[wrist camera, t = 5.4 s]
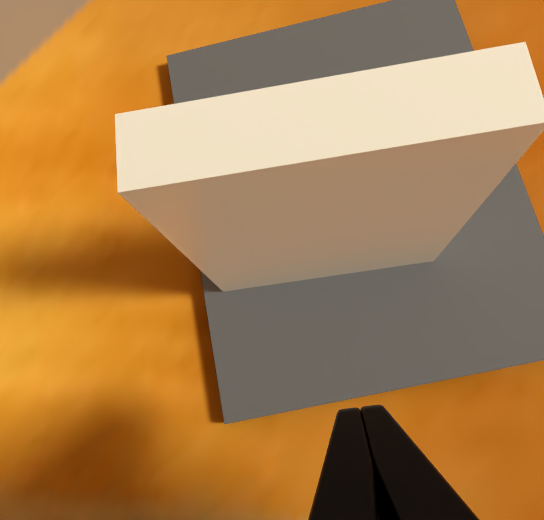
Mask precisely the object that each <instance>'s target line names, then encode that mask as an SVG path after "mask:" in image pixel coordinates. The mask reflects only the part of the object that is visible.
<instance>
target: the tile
mask: <svg viewBox="0 0 544 520" xmlns="http://www.w3.org/2000/svg"><path fill="white" fill-rule="evenodd" d="M115 130H116V157H117V184H118V193H119V194H120V195H121V196H122V197H123V198H124V199H125V200H126V201H127V202H128V203H129V204H131V205H132V206H133V207H134V208H135V209H136V210H137V211H138V212H139V213H140V214H141V215H142V216H143V217H144V218H145V219H146V220H148V221H149V222H150V223H151V224H152V225H153V226H154V227H155V228H156V229H157V230H158V231H159V232H160V233H161V234H162V235H163V236H164V237H166V238H167V239H168V240H169V241H170V242H171V243H172V244H173V245H174V246H175V247H176V248H177V249H178V250H179V251H180V252H181V253H183V254H184V255H185V256H186V257H187V258H188V259H189V260H190V261H191V262H192V263H193V264H194V265H195V266H196V267H197V268H198V269H200V270H201V271H202V272H203V273H204V274H205V275H206V276H207V277H208V278H209V279H210V280H211V281H212V282H213V283H214V284H215V285H217V286H218V287H219V288H220V289H221V290H222V291H223V292H225V291H232V290H239V289H246V288H253V287H259V286H266V285H273V284H280V283H287V282H294V281H301V280H307V279H314V278H321V277H328V276H335V275H342V274H349V273H355V272H362V271H369V270H376V269H383V268H390V267H397V266H403V265H410V264H417V263H424V262H431V261H434V260H435V259H436V258H437V257H438V256H439V254H440V253H441V252H442V251H443V250H444V248H445V247H446V246H447V245H448V244H449V242H450V241H451V240H452V239H453V238H454V236H455V235H456V234H457V233H458V232H459V231H460V229H461V228H462V227H463V226H464V225H465V223H466V222H467V221H468V220H469V219H470V217H471V216H472V215H473V214H474V213H475V211H476V210H477V209H478V208H479V207H480V205H481V204H482V203H483V202H484V201H485V200H486V198H487V197H488V196H489V195H490V194H491V192H492V191H493V190H494V189H495V188H496V186H497V185H498V184H499V183H500V182H501V180H502V179H503V178H504V177H505V176H506V175H507V173H508V172H509V171H510V170H511V169H512V167H513V166H514V165H515V164H516V163H517V161H518V160H519V159H520V158H521V157H522V155H523V154H524V153H525V152H526V151H527V149H528V148H529V147H530V146H531V145H532V144H533V142H534V141H535V140H536V139H537V138H538V136H539V135H540V134H541V133H542V132H543V130H544V98H543V95H542V92H541V89H540V86H539V83H538V80H537V77H536V73H535V70H534V67H533V64H532V61H531V58H530V55H529V52H528V49H527V46H526V43H525V42H522V43H516V44H510V45H505V46H499V47H493V48H488V49H482V50H477V51H471V52H465V53H460V54H454V55H448V56H443V57H437V58H431V59H426V60H420V61H414V62H409V63H403V64H397V65H392V66H386V67H380V68H375V69H369V70H363V71H358V72H352V73H346V74H341V75H335V76H329V77H324V78H318V79H312V80H307V81H301V82H295V83H290V84H284V85H278V86H273V87H267V88H261V89H256V90H250V91H244V92H239V93H233V94H228V95H222V96H216V97H211V98H205V99H199V100H194V101H188V102H182V103H177V104H171V105H165V106H160V107H154V108H148V109H143V110H137V111H131V112H126V113H120V114H115Z"/></svg>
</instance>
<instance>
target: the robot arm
mask: <svg viewBox="0 0 544 520" xmlns="http://www.w3.org/2000/svg"><path fill="white" fill-rule="evenodd" d="M308 520H479V519H478V518H477V516H476V515H475V514H474V513H473V512H472V510H471V509H470V508H469V507H468V506H467V505H466V503H465V502H464V501H463V500H462V499H461V497H460V496H459V495H458V494H457V493H456V492H455V490H454V489H453V488H452V487H451V486H450V485H449V483H448V482H447V481H446V480H445V479H444V477H443V476H442V475H441V474H440V473H439V472H438V470H437V469H436V468H435V467H434V466H433V464H432V463H431V462H430V461H429V460H428V459H427V457H426V456H425V455H424V454H423V453H422V451H421V450H420V449H419V448H418V447H417V446H416V444H415V443H414V442H413V441H412V440H411V438H410V437H409V436H408V435H407V434H406V433H405V431H404V430H403V429H402V428H401V427H400V425H399V424H398V423H397V422H396V421H395V420H394V418H393V417H392V416H391V415H390V414H389V412H388V411H387V410H386V409H385V408H384V407H383V406H381V405H372V406H364V407H362V408H361V410H360V409H359V408H348V409H341V410H339V411H338V413H337V416H336V419H335V423H334V427H333V430H332V434H331V438H330V441H329V445H328V449H327V453H326V456H325V460H324V464H323V467H322V471H321V475H320V478H319V482H318V486H317V489H316V493H315V497H314V500H313V504H312V508H311V512H310V515H309V519H308Z"/></svg>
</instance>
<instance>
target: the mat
mask: <svg viewBox="0 0 544 520" xmlns="http://www.w3.org/2000/svg"><path fill="white" fill-rule="evenodd" d="M471 51H474V50H473V48H472V45H471V43H470V40H469V37H468V35H467V32H466V29H465V27H464V24H463V21H462V19H461V16H460V13H459V11H458V8H457V5H456V3H455V0H392V1H388V2H383V3H379V4H375V5H371V6H367V7H363V8H359V9H355V10H351V11H347V12H343V13H339V14H335V15H331V16H327V17H322V18H318V19H314V20H310V21H306V22H302V23H298V24H294V25H290V26H286V27H282V28H278V29H274V30H270V31H266V32H261V33H257V34H253V35H249V36H245V37H241V38H237V39H233V40H229V41H225V42H221V43H217V44H213V45H209V46H205V47H200V48H196V49H192V50H188V51H184V52H180V53H176V54H172V55H168V56H167V62H168V68H169V75H170V81H171V87H172V94H173V100H174V104H177V103H182V102H188V101H194V100H199V99H205V98H211V97H216V96H222V95H228V94H233V93H239V92H244V91H250V90H256V89H261V88H267V87H273V86H278V85H284V84H290V83H295V82H301V81H307V80H312V79H318V78H324V77H329V76H335V75H341V74H346V73H352V72H358V71H363V70H369V69H375V68H380V67H386V66H392V65H397V64H403V63H409V62H414V61H420V60H426V59H431V58H437V57H443V56H448V55H454V54H460V53H465V52H471ZM200 272H201V278H202V284H203V291H204V297H205V304H206V310H207V316H208V323H209V329H210V335H211V342H212V348H213V354H214V361H215V367H216V373H217V380H218V386H219V393H220V399H221V405H222V412H223V418H224V424H228V423H233V422H238V421H243V420H248V419H253V418H258V417H263V416H268V415H273V414H278V413H283V412H288V411H293V410H298V409H303V408H308V407H313V406H318V405H323V404H328V403H333V402H337V401H342V400H347V399H352V398H357V397H362V396H367V395H372V394H377V393H382V392H387V391H392V390H397V389H402V388H407V387H412V386H417V385H422V384H427V383H432V382H437V381H442V380H447V379H452V378H457V377H462V376H467V375H472V374H477V373H482V372H487V371H492V370H497V369H502V368H506V367H511V366H516V365H521V364H526V363H531V362H536V361H541V360H544V236H543V233H542V231H541V228H540V225H539V223H538V220H537V217H536V215H535V212H534V209H533V207H532V204H531V202H530V199H529V196H528V194H527V191H526V188H525V186H524V183H523V180H522V178H521V175H520V172H519V170H518V167H517V164H515V165H514V166H513V167H512V169H511V170H510V171H509V172H508V173H507V175H506V176H505V177H504V178H503V179H502V180H501V182H500V183H499V184H498V185H497V186H496V188H495V189H494V190H493V191H492V192H491V194H490V195H489V196H488V197H487V198H486V200H485V201H484V202H483V203H482V204H481V205H480V207H479V208H478V209H477V210H476V211H475V213H474V214H473V215H472V216H471V217H470V219H469V220H468V221H467V222H466V223H465V225H464V226H463V227H462V228H461V229H460V231H459V232H458V233H457V234H456V235H455V236H454V238H453V239H452V240H451V241H450V242H449V244H448V245H447V246H446V247H445V248H444V250H443V251H442V252H441V253H440V254H439V256H438V257H437V258H436V259H435V260H434V261H431V262H424V263H417V264H410V265H403V266H397V267H390V268H383V269H376V270H369V271H362V272H355V273H349V274H342V275H335V276H328V277H321V278H314V279H307V280H301V281H294V282H287V283H280V284H273V285H266V286H259V287H253V288H246V289H239V290H232V291H225V292H223V291H222V290H221V289H220V288H219V287H218V286H217V285H215V284H214V283H213V282H212V281H211V280H210V279H209V278H208V277H207V276H206V275H205V274H204V273H203V272H202V271H201V270H200Z"/></svg>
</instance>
